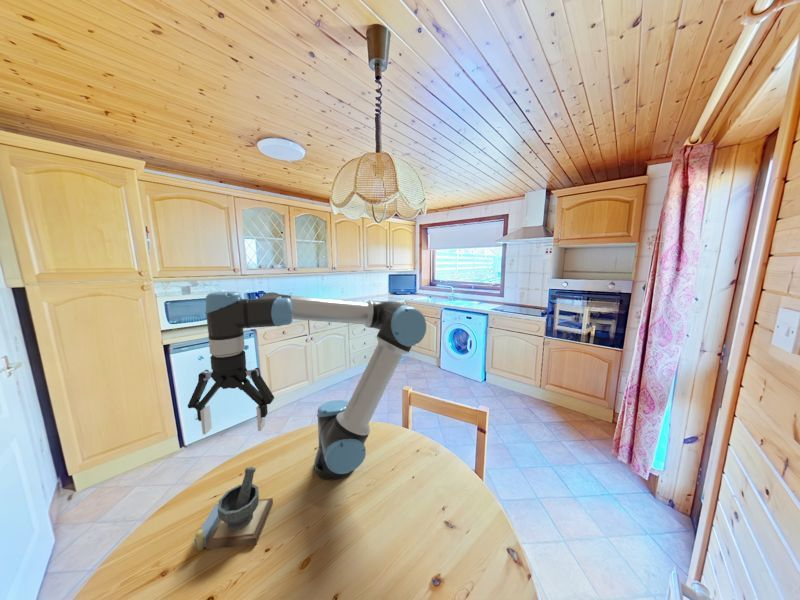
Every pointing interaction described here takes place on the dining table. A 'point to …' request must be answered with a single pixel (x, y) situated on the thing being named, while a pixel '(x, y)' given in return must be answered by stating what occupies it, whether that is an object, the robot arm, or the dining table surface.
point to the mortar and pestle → (239, 503)
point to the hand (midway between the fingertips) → (234, 429)
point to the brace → (207, 529)
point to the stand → (244, 536)
